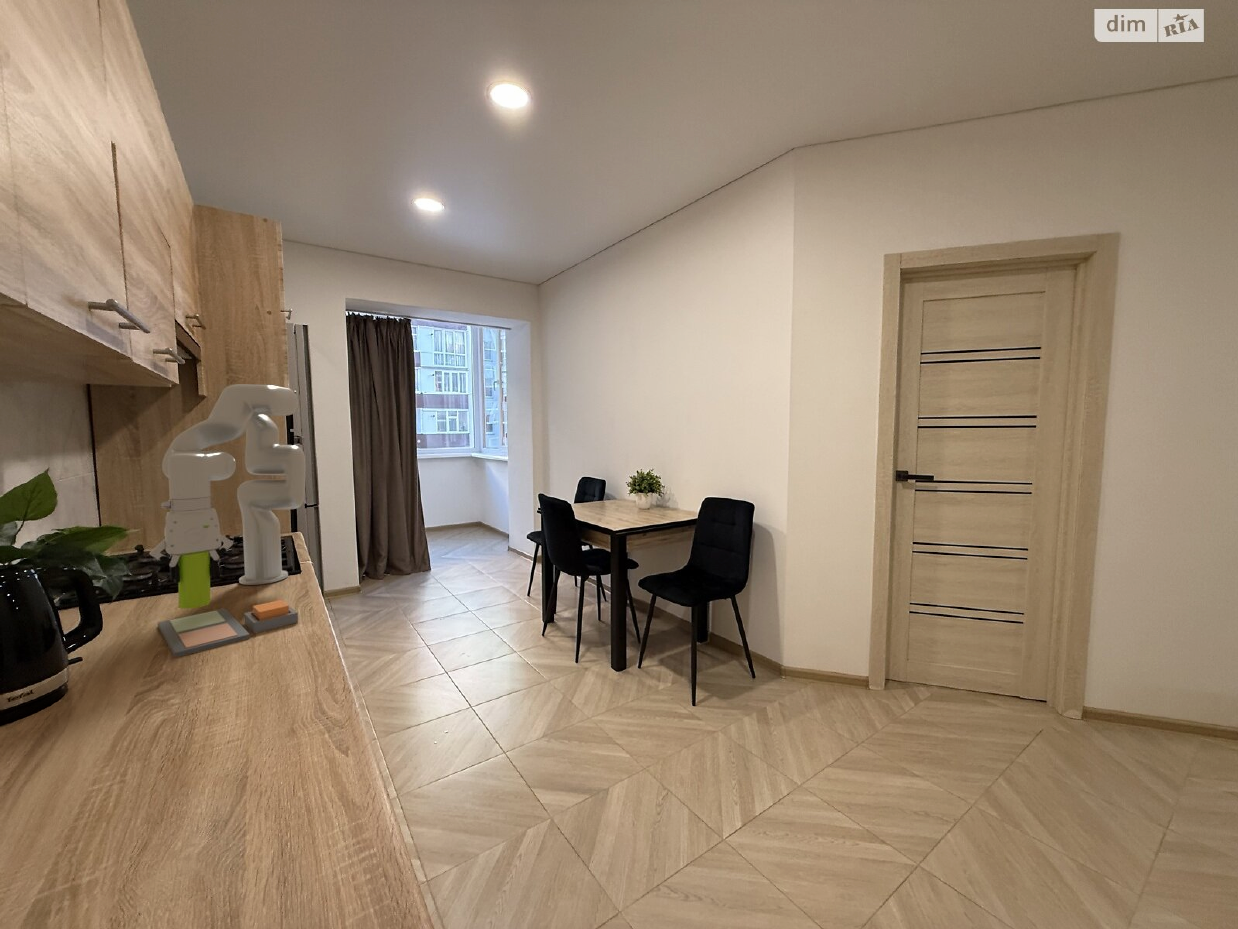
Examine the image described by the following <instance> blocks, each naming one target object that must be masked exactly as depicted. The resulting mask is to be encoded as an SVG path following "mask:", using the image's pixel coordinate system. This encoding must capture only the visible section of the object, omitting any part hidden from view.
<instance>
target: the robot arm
mask: <svg viewBox="0 0 1238 929" xmlns="http://www.w3.org/2000/svg"><path fill="white" fill-rule="evenodd" d="M298 404H299V401H298V397H297V394H296V393H295V391H294V390H293V389H291V388H289V387H283V386H278V385H271V384H249V383H247V384H246V383H245V384H244V383H243V384H242V383H241V384H237V383H236V384H230V385H227V386H226V387H225V388H224V389H223V390H222V391H221V393H220V396H219V397H218V399H217V401H216V402H215V404H214V407H213V408H212V410H211V412H210V414H209V415H208V418H207V419H205V420H203V421H200V422H198V423H196V424H194V425H193V426H191V427H189V428H187V429H186V430H184V431H182V432H180V433H179V434H178V435H176V436H175V437H174V439H173V440H172V442H171V443H170V445H169V447H168V448H167V450H166V452H165V453H164V457H163V458H162V463H161V464H162V465H161V468H162V472H163V475H164V476H165V477H166V478H168V491H169V493H168V494H169V499H168V500H167V501H163V502H161V508H162V509H168V510H169V511H168V512H167V511H166V515H165V521H164V531H163V532H164V534H163V536H164V537H163V539H162V540H161V541H160V542H159V543H158V544H157V545H156V546H154V548H153V549H151V550H150V551H149V555H150V556H151V557H153V558H155V559H156V560H158V561H160V562H162V563H164V564H165V565H167V566H169V577H170V580H171V581H172V580H173V582H174V583H175V584H178V583H179V582H180V573H179V566H178V559H179V557H180V555H184V554H191V553H198V552H205V551H209V553H210V578H211V577H212V578H215V577H216V573H219V563H218V561H219V559H220V558H221V557H222V556H223V555H224V554H225V553H226V552H227V551H228V550H229V548H231V547H232V546H233V544H234V542H233V541H232V540H231V539H229V538H228V537H226V536H225V535H224V534H222V533H221V528H220V527H221V526H220V520H219V516H218V512H217V510H216V509H217V508H214V507H213V508H212V497H211V496H212V495H211V492H212V491H211V481H223V480H227V479H229V478H230V477H232V476H233V475H234V473H235V472H236V469H237V462H236V460H235V457H234V456H232V454H230V453H229V452H226V451H222V450H221V451H220V450H203V449H206V448H209V447H212V446H216V445H219V444H223V443H226V442H230V441H232V440H233V441H234V440H235V439H238V438H239V437H241V436H243V435H244V433H245V437H246V438H245V454H244V455H245V456H244V465H245V466H244V467H245V470H246V471H247V473H249V474H251V475H255V476H285V478H278V479H277V478H275V479H274V478H264V479H263V478H262V479H260V478H259V479H258V478H257V479H250V480H246V481H244V482H242V483H241V484H240V485H239V486H238V487H237V491H236V497H237V503H238V506H239V509H240V513H241V521H242V522H241V523H242V540H243V557H244V558H243V561H244V564H243V565H244V575H242V576H241V577H239V578H238V581H239V584H241V585H245V586H257V585H267V584H273V583H277V582H280V581H282V580H285V579H287V578H288V576H289V572H288V571H287V570H283V566H282V562H283V561H282V541H281V524H280V523H281V522H280V520H279V518H278V517H277V516H276V515H275V513H274V512H273V510H277V511H278V510H295V509H299V508H300V507H302V505H303V504H304V500H305V496H306V495H305V494H306V493H305V492H306V472H307V471H306V469H307V468H306V465H307V464H306V455H305V453H304V450H303V449H302V448H301V446H300V447H299V446H297V445H294V444H293V445H292V444H280V429H279V428H278V426H277V424H276V423H275V422H274V420H272V419H271V418H270V417H269V416H290V415H293V414H294V413H295V412H296V411H297V409H298V407H299V405H298ZM203 525H206V526H209V527H208V528H203ZM222 543H223V545H222ZM163 550H165V552H166V553H167V554H168V555H170V556H169V557H168V556H166V555H165V554H162V553H161V552H162V551H163Z"/></svg>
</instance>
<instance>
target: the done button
mask: <svg viewBox="0 0 1238 929" xmlns="http://www.w3.org/2000/svg"><path fill="white" fill-rule="evenodd" d="M288 605H289V604H287V603H285V602H284V601H283V600H282V599H279V600H275V601H271V602H265V603H262V604H261V603H260V604H256V605H252V611H253V614H254V615H255V616H256V617H257V618H258V619H259V620H263V619H267V618H272V617H276V616H280V615H284V614H288V613H289V606H290V605H289V606H288Z"/></svg>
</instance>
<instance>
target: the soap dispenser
mask: <svg viewBox="0 0 1238 929" xmlns="http://www.w3.org/2000/svg"><path fill="white" fill-rule="evenodd" d="M208 527H209V526H206V525H203V528H208ZM210 557H211V556H210V553H209V551H205V552H198V553H191V554H184V555H180V557H179V559H178V561H177V565H178V566H179V573H180V582H179V583H177V584H178V608H179V609H182V610H183V609H184V610H185V609H186V610H190V609H197V608H201V607H205V606H208V605H209V604H211V576H210Z"/></svg>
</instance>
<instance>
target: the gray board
mask: <svg viewBox="0 0 1238 929" xmlns="http://www.w3.org/2000/svg"><path fill="white" fill-rule="evenodd" d="M157 626H158V629H159V631H160V633H161V634H162V636H163V638H164V639H165V641H166V644H167V646H169V649H170V651H171V653H172V655H173V656H174V658H178V657H179V658H180V657H183V656H185V655H186V656H187V655H189V654H190V655H191V654H194V653H198V652H202V651H205V650H209V649H214V648H218V647H221V646H226V645H229V644H233V643H238V642H241V641H245V640H249V639H250V637H251V636H250V633H249V632H248V631H247V630H246V629H245V628H244V627H243V625H241V623H240V622H239V621H238V620H237V619H236V618H235V617H234V616H233V615H232V614H231V613H230V612H229V611H228V610H227V608H220V609H215V610H210V611H205V612H200V613H196V614H193V615H192V614H190V615H187V616H183V617H178V618H172V619H168V620H164V621H159V622H157Z"/></svg>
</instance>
